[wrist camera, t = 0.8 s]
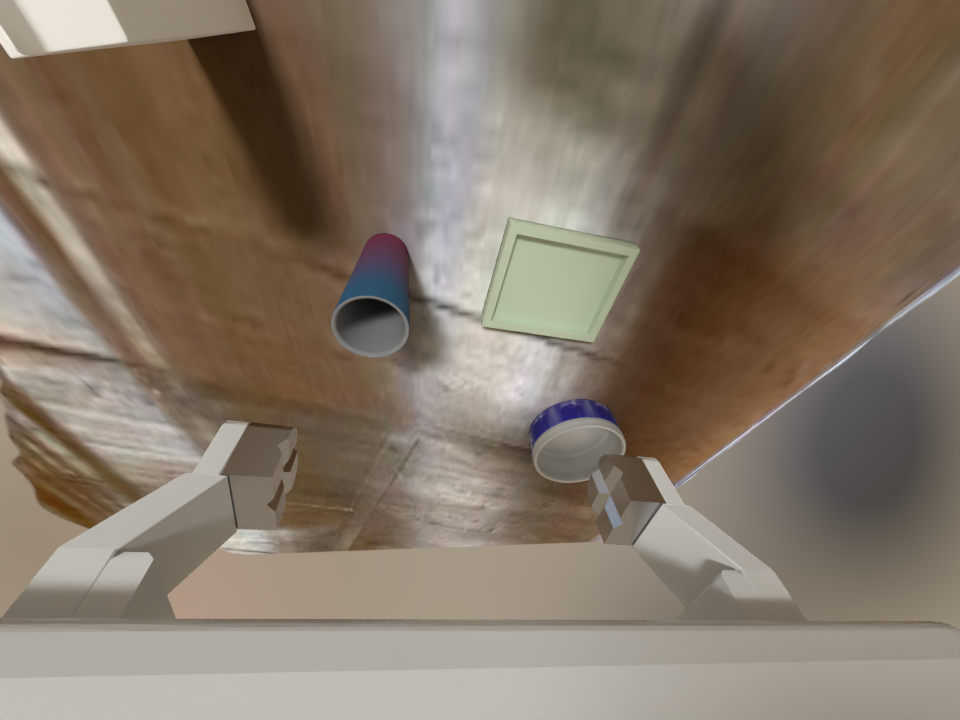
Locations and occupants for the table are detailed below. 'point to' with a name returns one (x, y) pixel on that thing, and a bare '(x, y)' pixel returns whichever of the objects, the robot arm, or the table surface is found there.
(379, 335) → the cup
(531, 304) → the tray
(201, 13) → the milk
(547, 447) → the dog bowl
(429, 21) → the table surface
